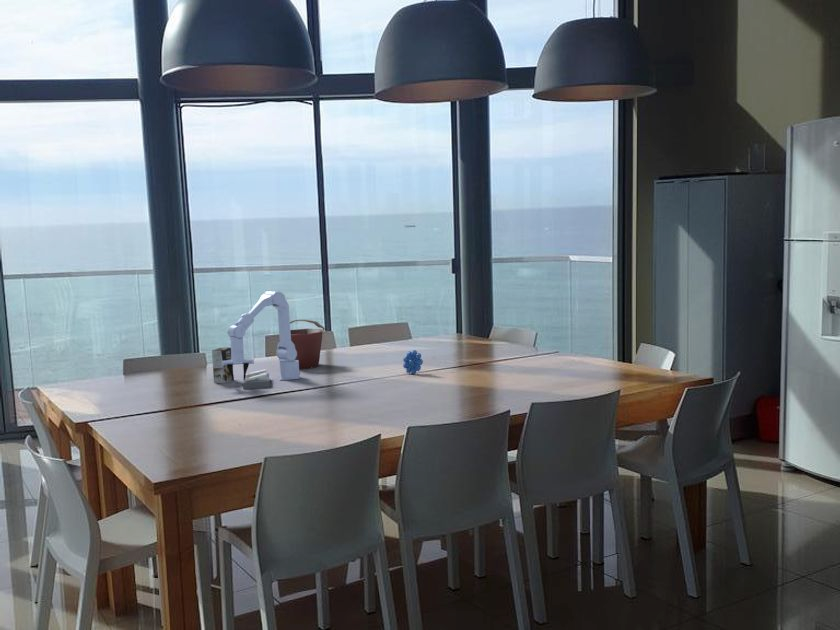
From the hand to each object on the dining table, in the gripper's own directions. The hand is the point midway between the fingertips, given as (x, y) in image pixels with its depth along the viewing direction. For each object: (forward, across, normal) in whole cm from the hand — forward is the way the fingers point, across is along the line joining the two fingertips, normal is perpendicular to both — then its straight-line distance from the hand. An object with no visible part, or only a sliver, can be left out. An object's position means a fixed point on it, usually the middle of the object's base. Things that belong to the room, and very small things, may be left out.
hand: (238, 379), depth 390 cm
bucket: (+3, +32, +45) cm, 55 cm away
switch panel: (+4, +8, +6) cm, 10 cm away
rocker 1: (0, +8, +11) cm, 14 cm away
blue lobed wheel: (+3, +84, +3) cm, 84 cm away
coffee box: (+4, -8, +19) cm, 21 cm away
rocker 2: (0, +8, 0) cm, 8 cm away
